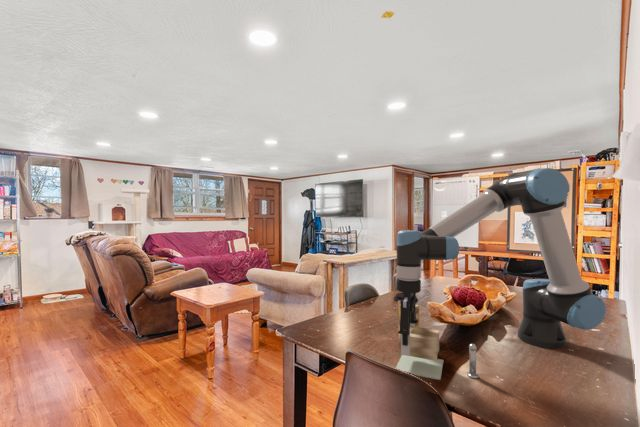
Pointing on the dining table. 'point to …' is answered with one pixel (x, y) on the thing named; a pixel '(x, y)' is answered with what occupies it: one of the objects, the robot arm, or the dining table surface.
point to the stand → (472, 362)
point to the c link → (423, 343)
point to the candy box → (416, 314)
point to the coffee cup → (397, 298)
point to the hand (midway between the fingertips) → (408, 348)
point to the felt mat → (421, 366)
